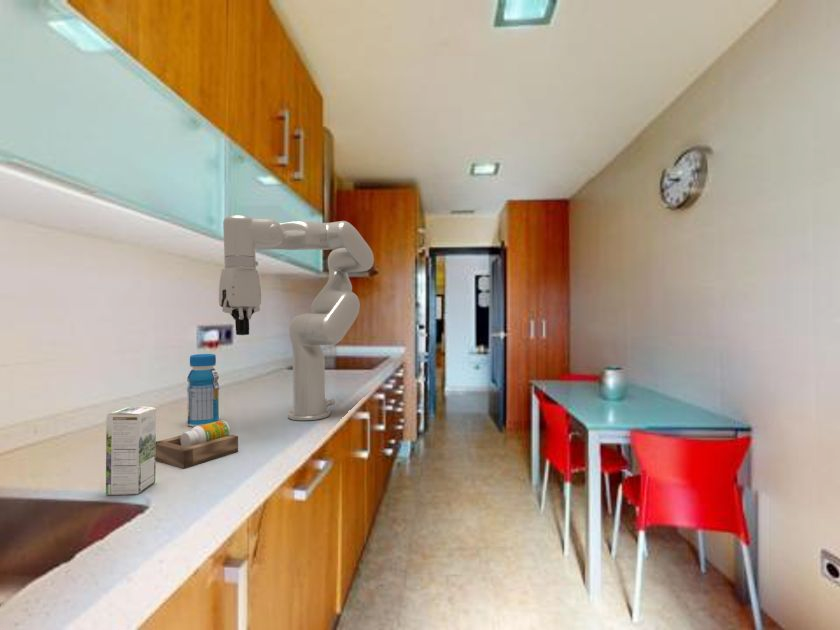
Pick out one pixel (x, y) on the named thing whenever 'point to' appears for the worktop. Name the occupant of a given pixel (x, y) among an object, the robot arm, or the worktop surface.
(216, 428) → the supplement bottle
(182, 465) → the tray
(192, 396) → the beverage bottle
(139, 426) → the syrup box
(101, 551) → the worktop surface
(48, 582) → the worktop surface
